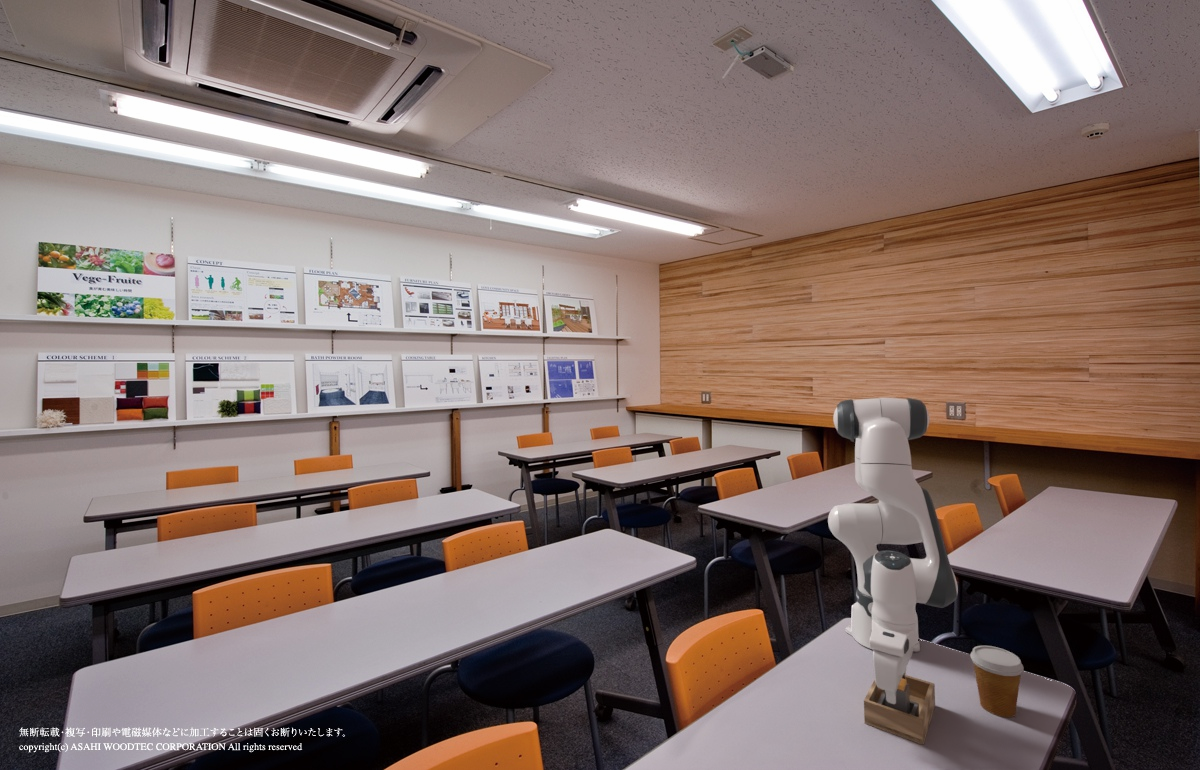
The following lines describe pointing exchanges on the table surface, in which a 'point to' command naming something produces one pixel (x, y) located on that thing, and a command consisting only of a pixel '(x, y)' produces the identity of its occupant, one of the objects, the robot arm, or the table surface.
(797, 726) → the table surface
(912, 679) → the box
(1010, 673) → the disposable coffee cup
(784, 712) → the table surface
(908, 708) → the block
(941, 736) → the table surface
